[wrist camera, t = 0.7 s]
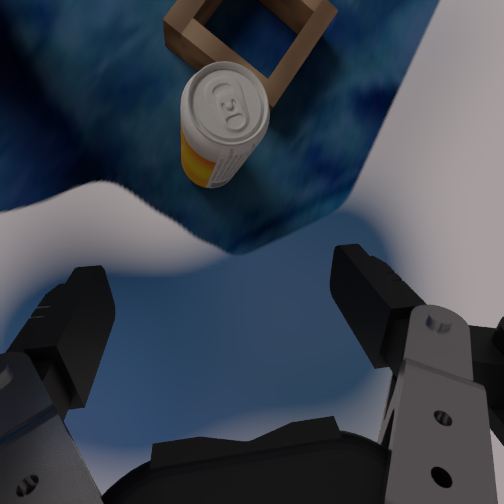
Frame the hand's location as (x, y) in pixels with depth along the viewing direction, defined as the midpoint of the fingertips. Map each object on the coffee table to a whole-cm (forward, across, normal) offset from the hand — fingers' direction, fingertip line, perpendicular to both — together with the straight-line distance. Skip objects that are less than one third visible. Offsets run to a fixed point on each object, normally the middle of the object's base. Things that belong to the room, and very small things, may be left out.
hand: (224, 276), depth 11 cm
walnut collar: (+34, -1, -12) cm, 36 cm away
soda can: (+26, 0, +2) cm, 27 cm away
